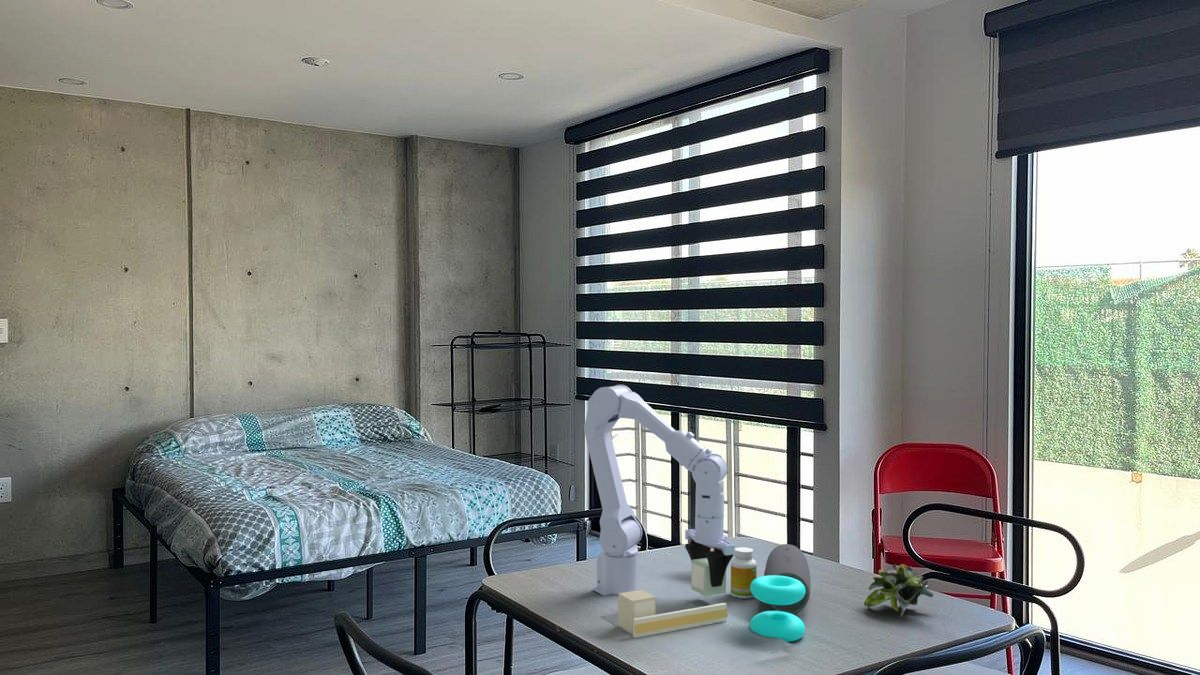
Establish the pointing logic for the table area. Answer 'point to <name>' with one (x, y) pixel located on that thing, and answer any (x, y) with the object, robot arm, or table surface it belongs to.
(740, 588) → the supplement bottle
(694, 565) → the sage carton
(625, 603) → the beige block
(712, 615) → the shelf board
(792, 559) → the bluetooth speaker
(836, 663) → the table surface
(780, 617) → the donuts
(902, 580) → the green leafy plant
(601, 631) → the table surface
